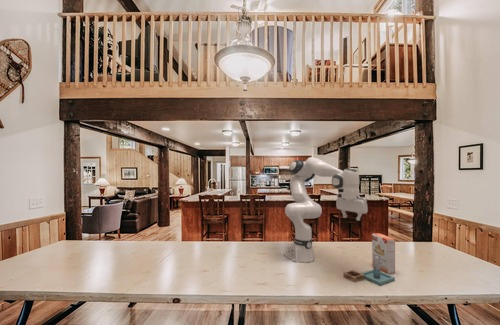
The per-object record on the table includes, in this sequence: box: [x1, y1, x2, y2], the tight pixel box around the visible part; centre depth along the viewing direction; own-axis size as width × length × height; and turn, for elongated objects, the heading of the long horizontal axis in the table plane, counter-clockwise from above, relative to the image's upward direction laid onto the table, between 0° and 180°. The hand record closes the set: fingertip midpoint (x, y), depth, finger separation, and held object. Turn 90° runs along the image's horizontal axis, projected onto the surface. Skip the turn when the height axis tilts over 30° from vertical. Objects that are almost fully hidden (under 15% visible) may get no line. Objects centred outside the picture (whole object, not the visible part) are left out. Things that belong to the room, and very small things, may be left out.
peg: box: [372, 255, 381, 279], centre depth 149 cm, size 4×4×12 cm
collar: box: [342, 269, 365, 283], centre depth 149 cm, size 8×8×2 cm
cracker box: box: [371, 232, 396, 275], centre depth 162 cm, size 14×6×21 cm, turn 11°
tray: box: [360, 269, 396, 287], centre depth 148 cm, size 13×13×2 cm
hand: (351, 218), depth 155 cm, fingers open, 8 cm apart
